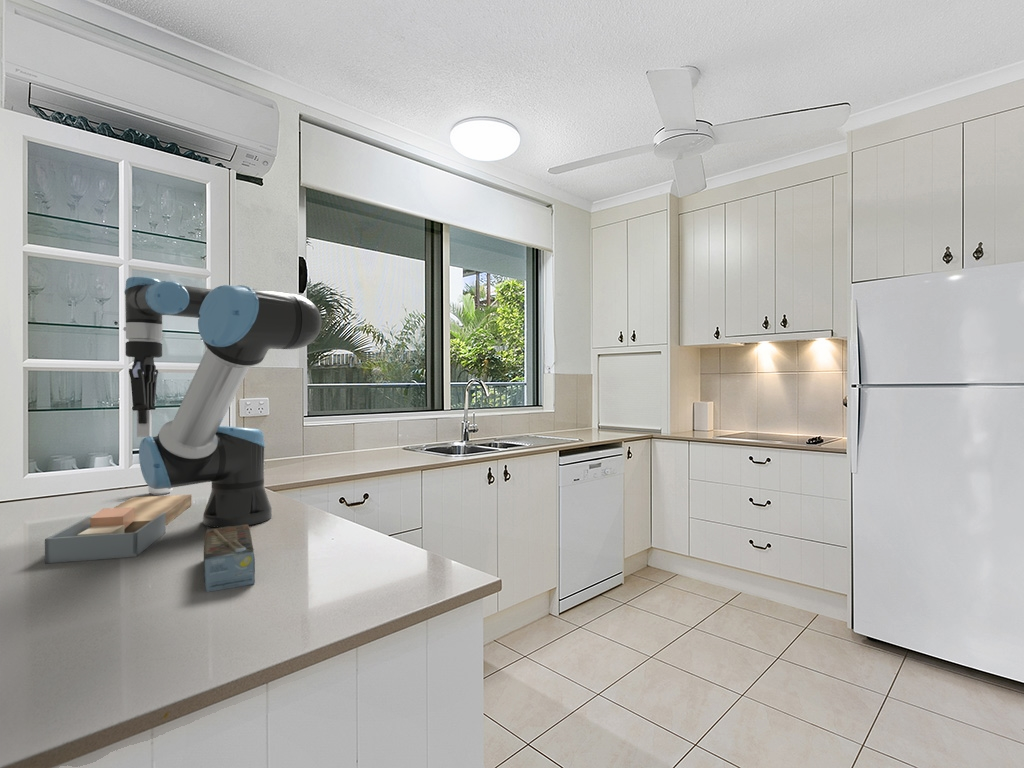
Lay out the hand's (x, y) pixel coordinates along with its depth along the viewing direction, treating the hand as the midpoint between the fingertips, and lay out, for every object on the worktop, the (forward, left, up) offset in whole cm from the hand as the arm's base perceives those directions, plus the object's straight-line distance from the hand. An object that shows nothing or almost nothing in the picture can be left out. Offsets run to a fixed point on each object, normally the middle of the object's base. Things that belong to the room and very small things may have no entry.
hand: (144, 436), depth 134 cm
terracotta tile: (0, +16, -18) cm, 24 cm away
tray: (-1, +23, -21) cm, 31 cm away
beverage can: (+7, -33, -21) cm, 40 cm away
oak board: (0, +1, -21) cm, 21 cm away
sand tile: (0, +23, -20) cm, 30 cm away
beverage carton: (-28, +45, -21) cm, 57 cm away
